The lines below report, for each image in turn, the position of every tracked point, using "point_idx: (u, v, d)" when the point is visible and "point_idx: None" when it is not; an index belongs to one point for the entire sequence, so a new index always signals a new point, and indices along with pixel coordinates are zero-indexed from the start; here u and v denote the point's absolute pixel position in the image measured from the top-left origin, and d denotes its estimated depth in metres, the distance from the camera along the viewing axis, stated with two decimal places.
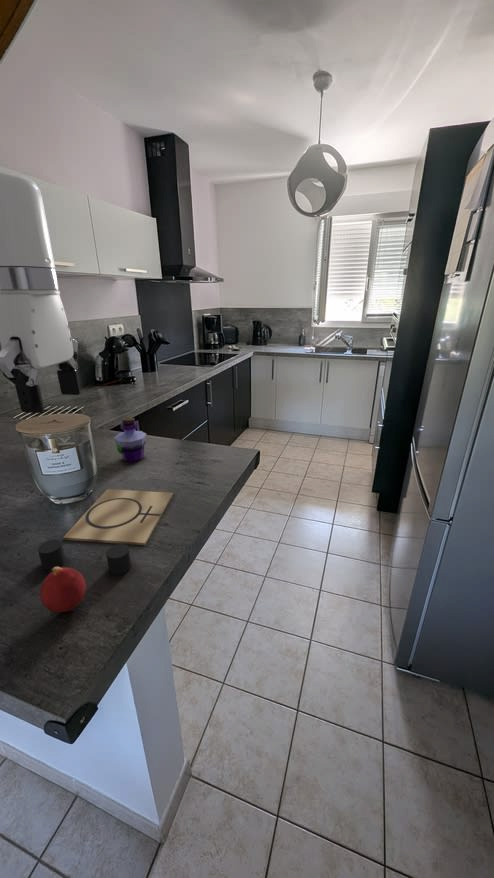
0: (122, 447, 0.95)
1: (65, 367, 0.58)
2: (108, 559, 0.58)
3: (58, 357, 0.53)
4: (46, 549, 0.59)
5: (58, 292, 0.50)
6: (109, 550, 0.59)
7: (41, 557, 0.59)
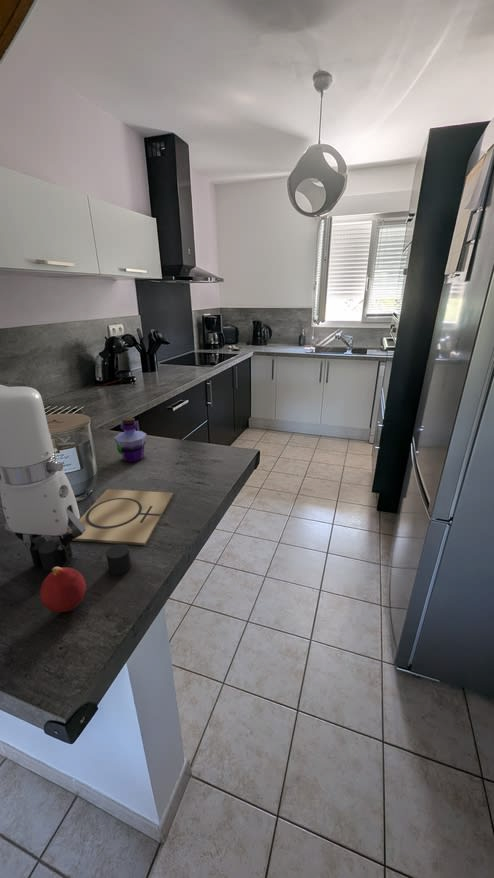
0: (122, 447, 0.95)
1: None
2: (108, 559, 0.58)
3: (36, 531, 0.57)
4: (46, 549, 0.59)
5: (20, 486, 0.52)
6: (109, 550, 0.59)
7: (41, 557, 0.59)
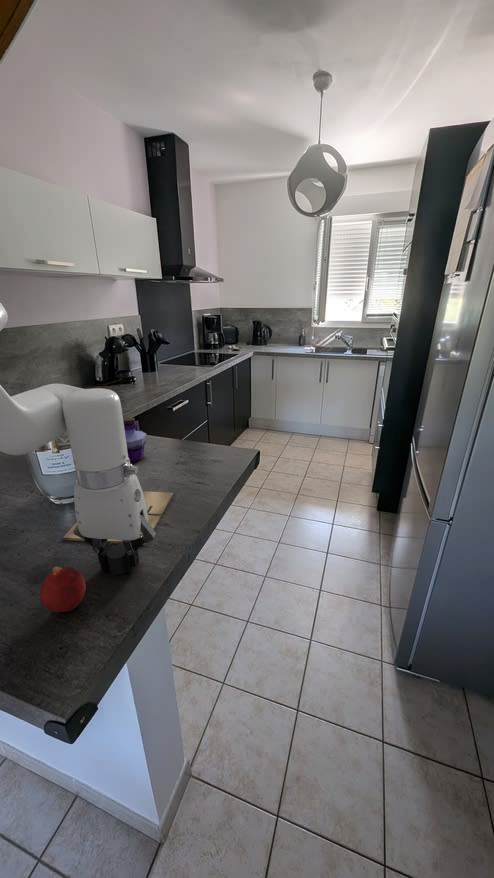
0: None
1: None
2: (108, 559, 0.58)
3: (108, 535, 0.55)
4: None
5: (99, 491, 0.51)
6: (109, 550, 0.59)
7: None
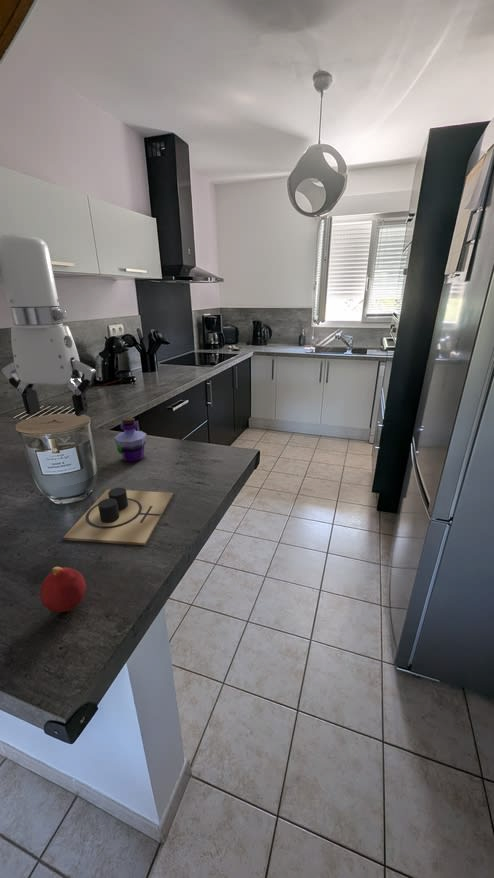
0: (122, 447, 0.95)
1: None
2: (110, 497, 0.75)
3: (43, 379, 0.63)
4: (105, 505, 0.71)
5: (29, 327, 0.58)
6: (110, 491, 0.76)
7: (101, 511, 0.70)
